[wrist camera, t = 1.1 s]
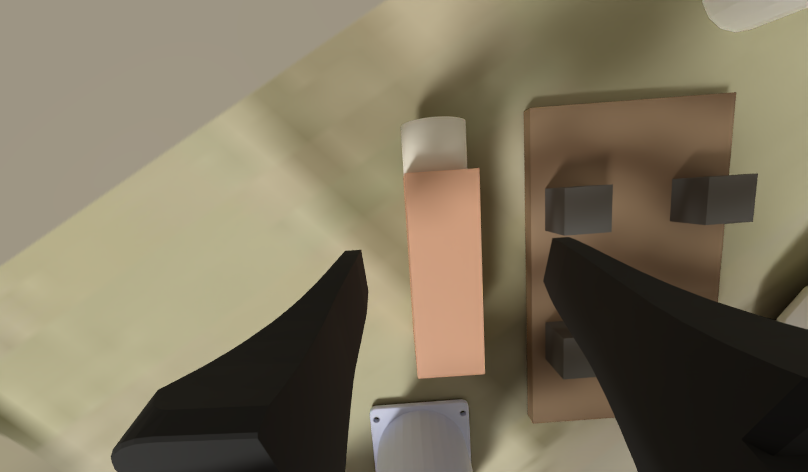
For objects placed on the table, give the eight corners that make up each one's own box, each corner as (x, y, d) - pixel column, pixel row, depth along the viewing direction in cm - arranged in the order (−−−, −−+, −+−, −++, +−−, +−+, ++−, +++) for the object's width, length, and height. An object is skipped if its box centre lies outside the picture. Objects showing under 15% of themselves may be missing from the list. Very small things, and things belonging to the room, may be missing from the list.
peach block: (463, 327, 23) (484, 374, 17) (413, 331, 23) (417, 378, 17) (455, 132, 21) (477, 109, 15) (400, 136, 21) (400, 114, 15)
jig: (695, 401, 24) (744, 436, 21) (527, 413, 24) (548, 450, 21) (720, 97, 21) (784, 77, 17) (523, 111, 21) (548, 95, 17)
